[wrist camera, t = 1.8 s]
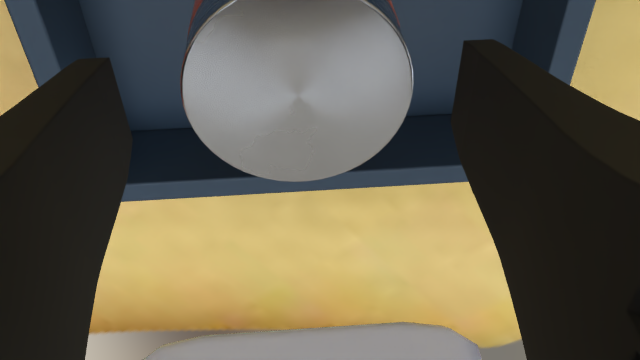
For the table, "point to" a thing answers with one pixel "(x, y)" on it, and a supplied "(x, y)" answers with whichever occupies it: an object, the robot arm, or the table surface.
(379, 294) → the table surface
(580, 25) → the tub
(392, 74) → the tin can
